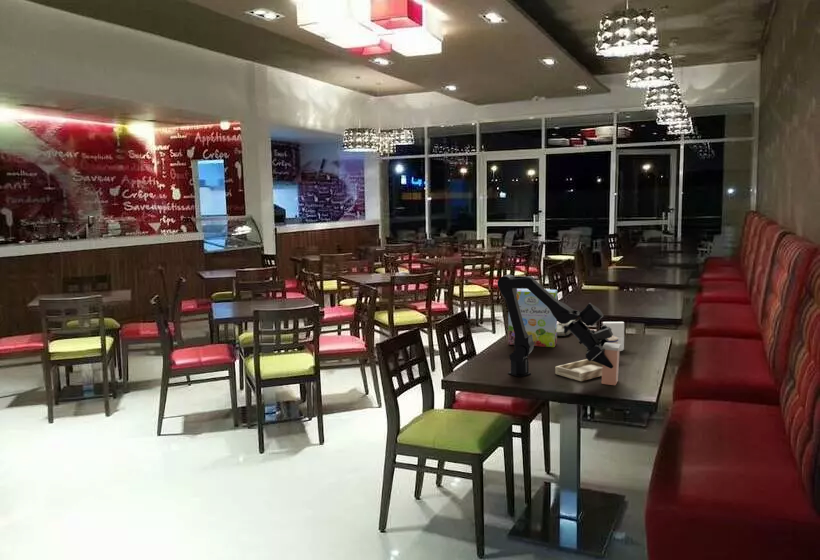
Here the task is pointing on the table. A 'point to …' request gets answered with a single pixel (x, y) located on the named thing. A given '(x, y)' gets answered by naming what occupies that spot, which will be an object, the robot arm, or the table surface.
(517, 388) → the table surface
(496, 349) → the table surface
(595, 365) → the tray
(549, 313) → the snack box
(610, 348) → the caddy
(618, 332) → the base with upright slab
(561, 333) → the elongated rock
